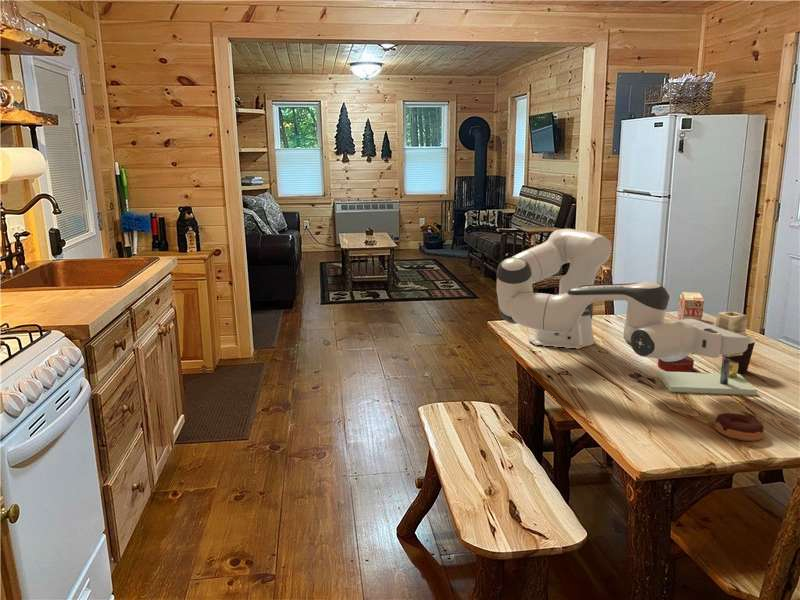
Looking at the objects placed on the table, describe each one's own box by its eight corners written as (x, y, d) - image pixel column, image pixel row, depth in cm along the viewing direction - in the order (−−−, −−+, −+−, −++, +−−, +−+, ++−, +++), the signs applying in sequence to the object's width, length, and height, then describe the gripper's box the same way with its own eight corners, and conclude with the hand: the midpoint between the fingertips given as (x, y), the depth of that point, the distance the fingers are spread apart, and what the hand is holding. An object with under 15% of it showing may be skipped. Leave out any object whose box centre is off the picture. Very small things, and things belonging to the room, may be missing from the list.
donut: (767, 432, 137) (769, 417, 136) (758, 448, 130) (760, 431, 129) (720, 420, 144) (722, 405, 143) (708, 435, 137) (710, 419, 136)
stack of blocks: (677, 316, 235) (680, 286, 232) (694, 318, 233) (697, 287, 230) (681, 331, 215) (684, 299, 213) (700, 333, 213) (704, 300, 210)
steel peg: (721, 384, 162) (724, 360, 160) (718, 381, 164) (721, 358, 162) (729, 384, 161) (731, 360, 160) (726, 382, 163) (729, 358, 162)
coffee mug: (750, 378, 170) (754, 345, 168) (716, 372, 174) (720, 340, 172) (752, 365, 179) (756, 334, 177) (720, 361, 184) (723, 330, 182)
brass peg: (726, 377, 166) (728, 364, 165) (722, 373, 169) (724, 360, 169) (738, 378, 166) (740, 364, 165) (734, 374, 169) (736, 361, 168)
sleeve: (727, 357, 157) (732, 317, 155) (713, 351, 162) (717, 312, 159) (742, 355, 159) (747, 315, 156) (727, 349, 163) (732, 311, 161)
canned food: (686, 388, 176) (687, 365, 170) (652, 376, 182) (652, 354, 176) (700, 363, 181) (701, 340, 175) (666, 353, 188) (667, 330, 182)
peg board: (670, 391, 161) (670, 386, 161) (658, 376, 173) (658, 371, 172) (756, 395, 158) (757, 389, 158) (738, 378, 170) (739, 373, 169)
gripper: (662, 337, 166) (702, 332, 170) (719, 360, 147) (763, 354, 150) (664, 315, 164) (704, 311, 168) (722, 336, 145) (766, 330, 149)
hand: (732, 331), depth 159 cm, fingers closed on sleeve, 5 cm apart
